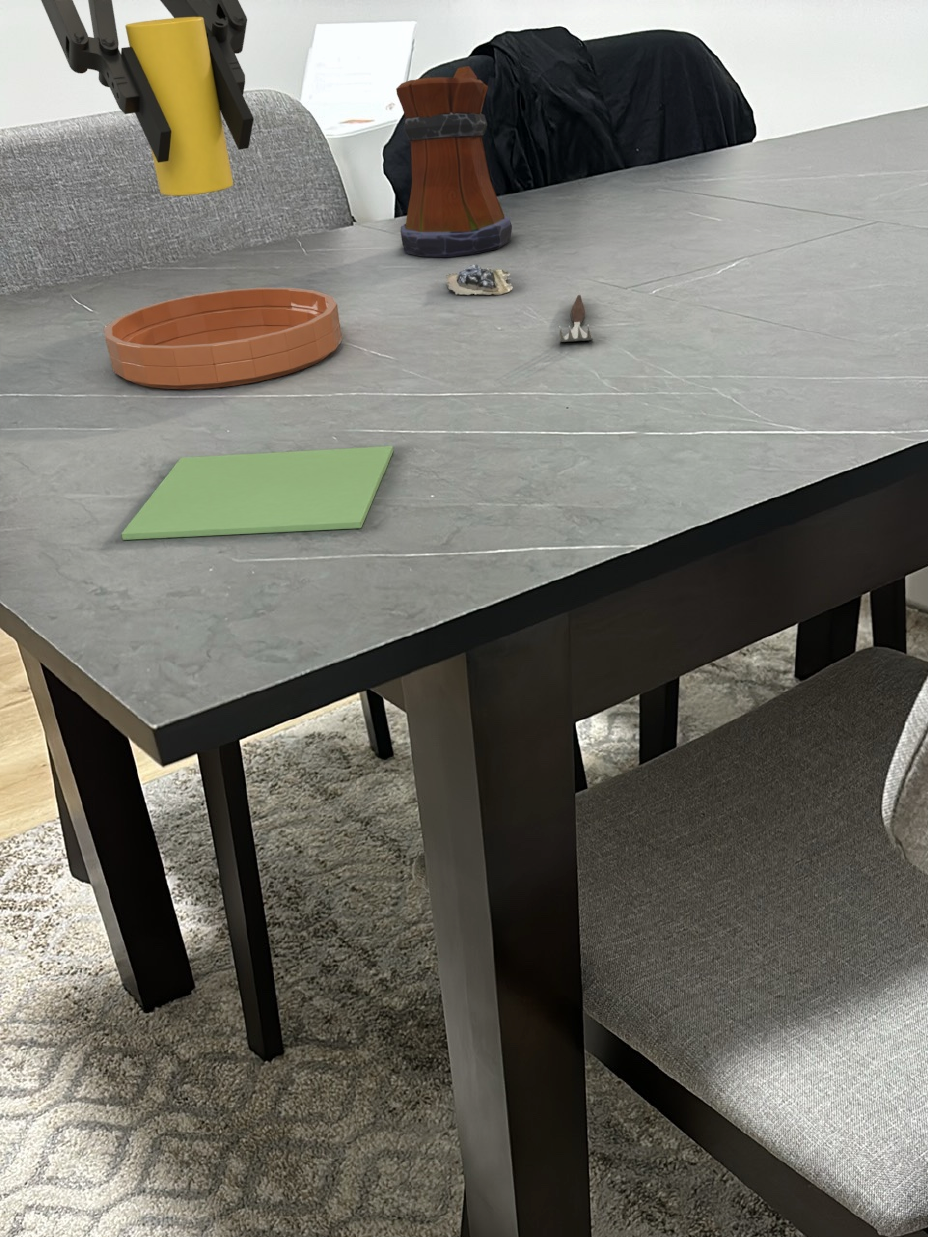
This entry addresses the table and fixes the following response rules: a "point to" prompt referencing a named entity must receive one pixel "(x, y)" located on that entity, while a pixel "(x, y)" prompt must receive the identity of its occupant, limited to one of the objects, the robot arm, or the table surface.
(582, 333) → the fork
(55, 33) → the robot arm
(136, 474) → the table surface
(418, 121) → the brown rook tower
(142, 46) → the yellow cylinder
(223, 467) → the green board
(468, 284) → the dark rock pile
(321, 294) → the pan
